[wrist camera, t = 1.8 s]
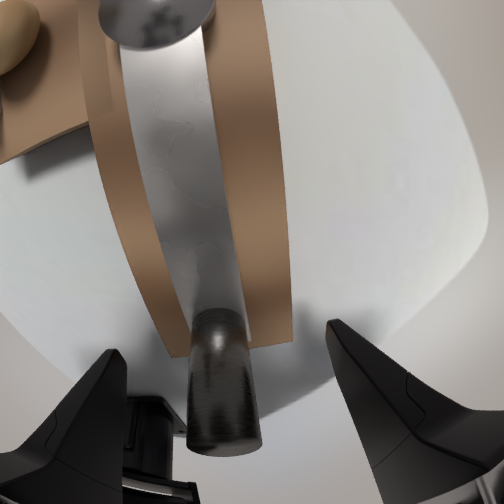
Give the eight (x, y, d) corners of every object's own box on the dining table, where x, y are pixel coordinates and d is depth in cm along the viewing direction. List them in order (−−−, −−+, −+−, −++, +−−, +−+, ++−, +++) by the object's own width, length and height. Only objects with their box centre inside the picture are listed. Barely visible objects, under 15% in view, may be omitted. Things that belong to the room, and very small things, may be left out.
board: (284, 313, 14) (307, 392, 10) (99, 335, 14) (76, 404, 10) (242, -51, 5) (257, -120, 1) (12, 30, 5) (-55, 23, 1)
